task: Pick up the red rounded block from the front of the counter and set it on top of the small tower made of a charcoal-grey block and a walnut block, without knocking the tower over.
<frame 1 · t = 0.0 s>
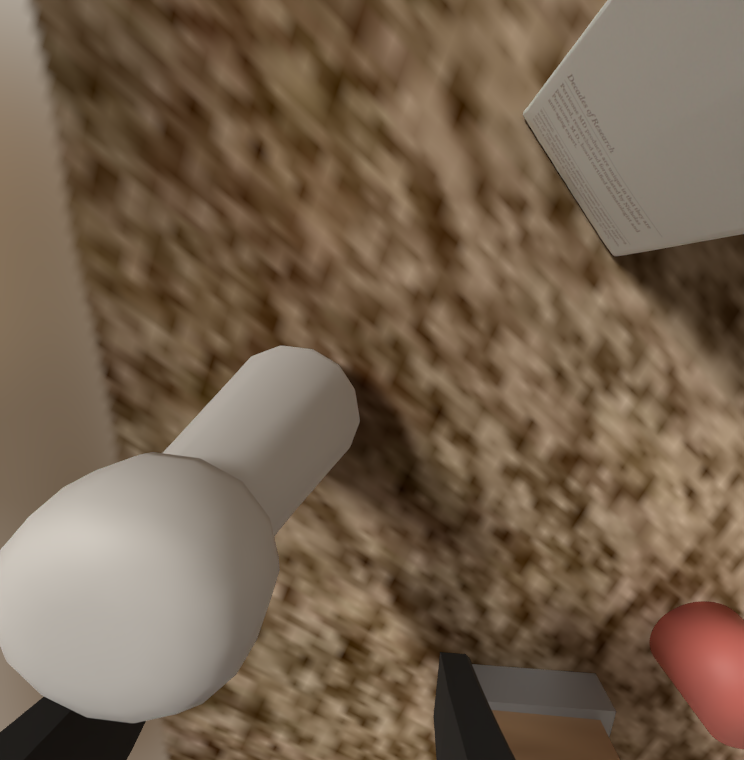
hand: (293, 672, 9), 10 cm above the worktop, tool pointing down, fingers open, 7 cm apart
red rounded block: (695, 637, 20), on the worktop
supplement box: (642, 130, 15), on the worktop
tower top block: (529, 757, 20), point 2 cm above the worktop, touching tower base block
tower base block: (514, 708, 22), on the worktop, touching tower top block
salt shaker: (306, 396, 18), on the worktop
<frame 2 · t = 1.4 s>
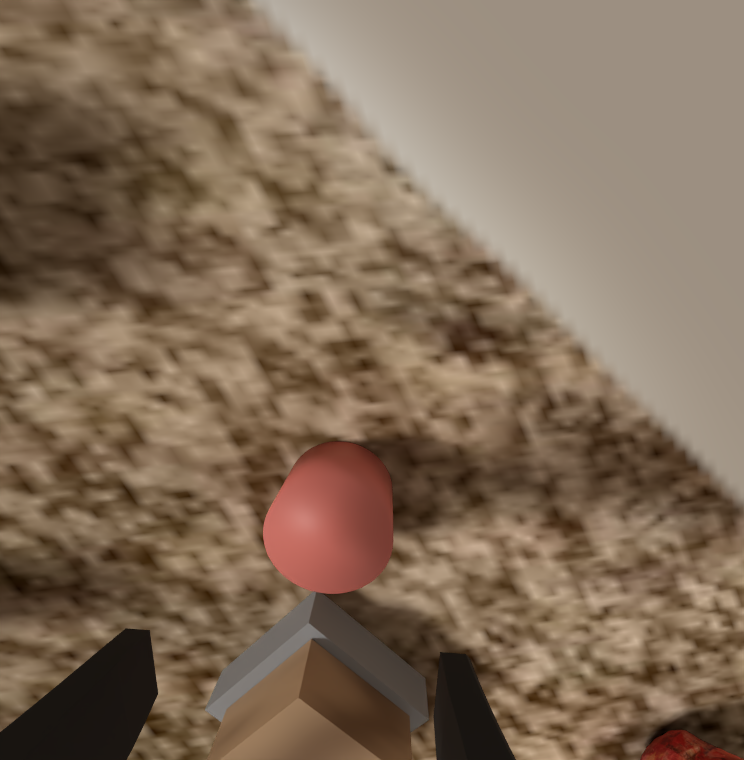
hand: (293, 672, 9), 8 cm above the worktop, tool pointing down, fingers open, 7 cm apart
red rounded block: (340, 489, 17), on the worktop
tower top block: (317, 712, 18), point 2 cm above the worktop, touching tower base block
tower base block: (324, 664, 20), on the worktop, touching tower top block
red apple: (677, 742, 20), on the worktop
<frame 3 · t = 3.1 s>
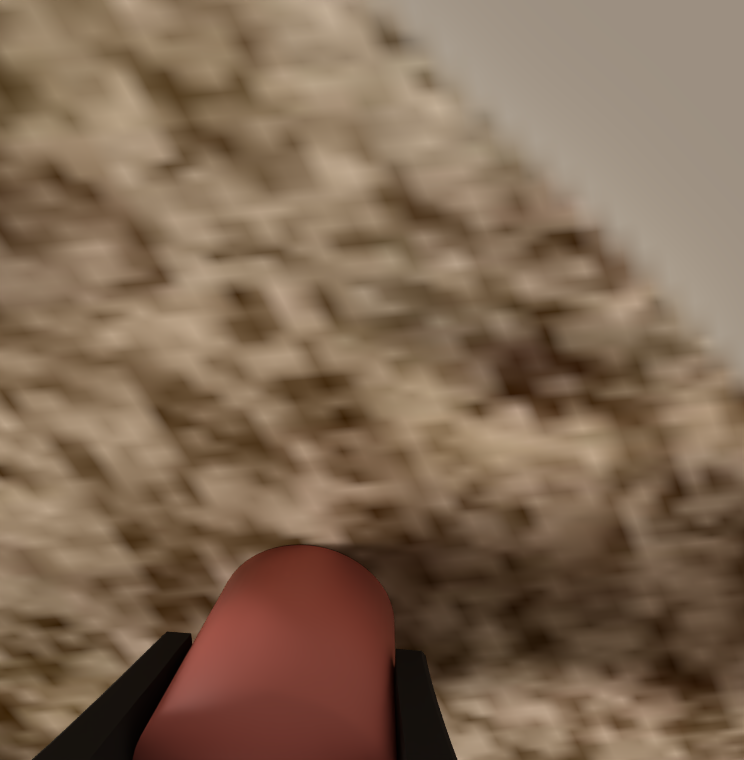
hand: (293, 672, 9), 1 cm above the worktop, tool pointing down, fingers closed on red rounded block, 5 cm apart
red rounded block: (306, 620, 10), on the worktop, touching gripper
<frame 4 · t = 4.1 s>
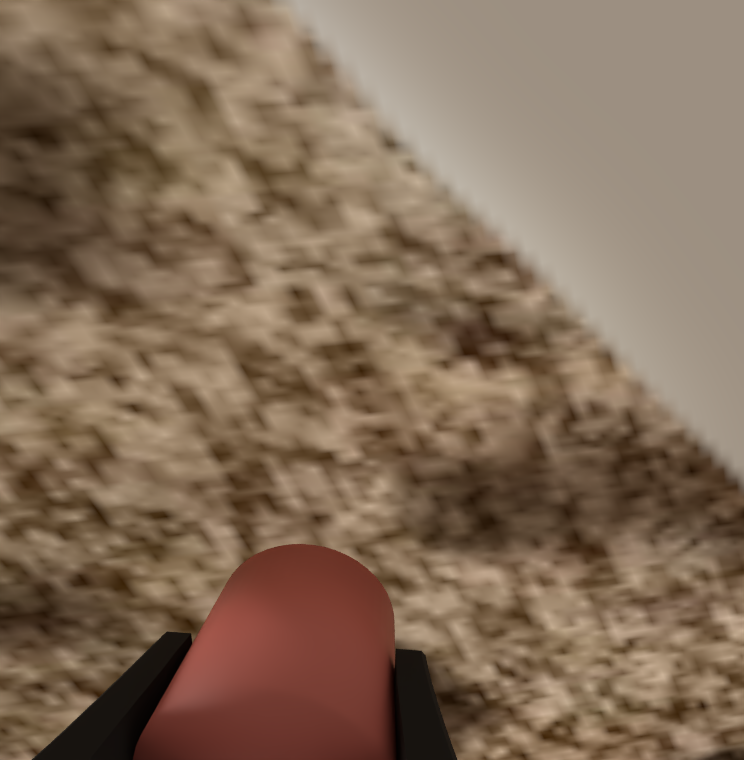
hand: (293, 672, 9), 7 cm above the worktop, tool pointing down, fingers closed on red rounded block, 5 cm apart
red rounded block: (306, 619, 10), point 5 cm above the worktop, touching gripper
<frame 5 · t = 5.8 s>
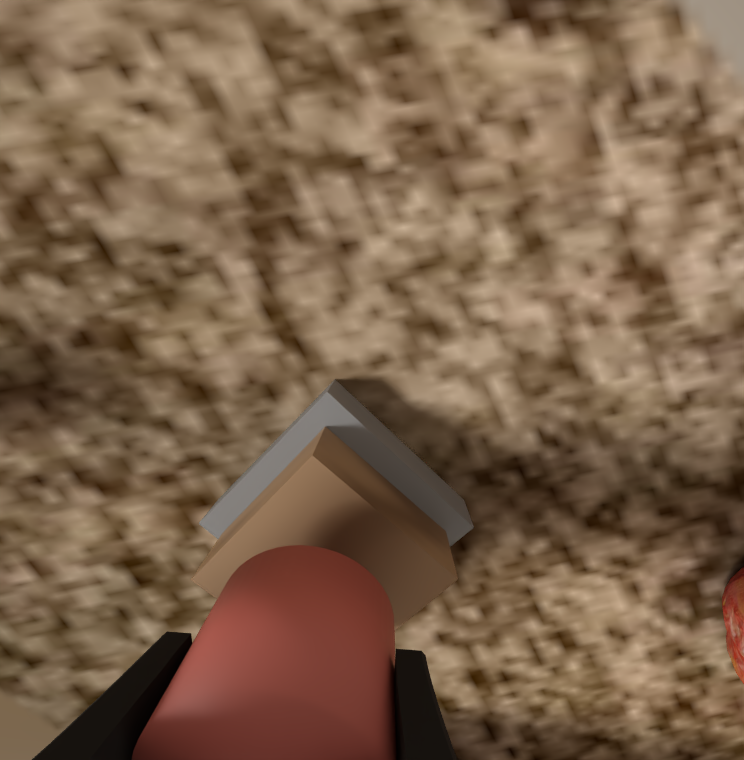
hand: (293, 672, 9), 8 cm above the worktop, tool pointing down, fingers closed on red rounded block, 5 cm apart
red rounded block: (306, 621, 10), point 6 cm above the worktop, touching gripper
tower top block: (332, 531, 15), point 2 cm above the worktop, touching tower base block
tower base block: (341, 492, 17), on the worktop, touching tower top block
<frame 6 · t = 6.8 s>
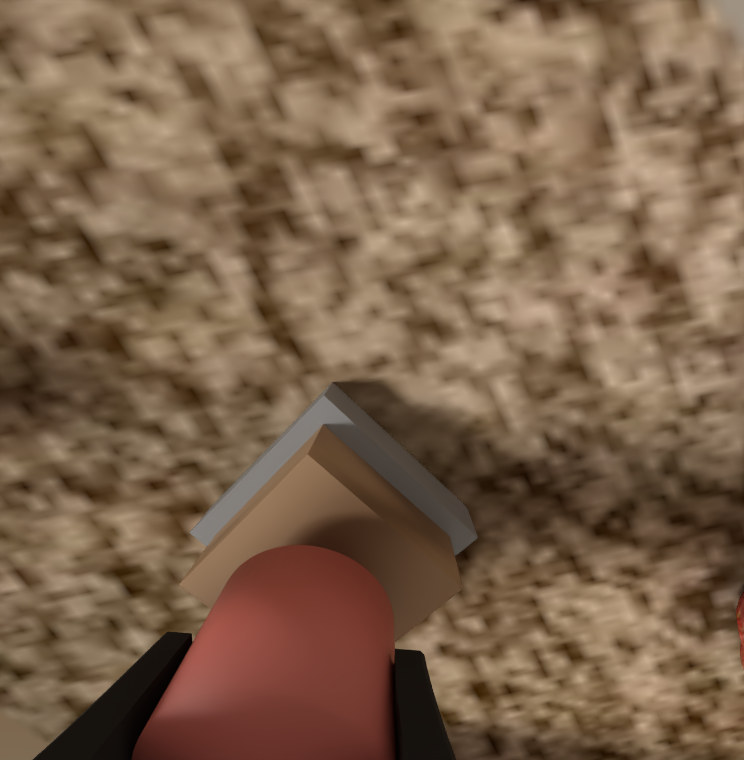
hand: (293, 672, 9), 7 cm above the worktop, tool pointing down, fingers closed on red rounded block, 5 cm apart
red rounded block: (306, 621, 10), point 6 cm above the worktop, touching gripper
tower top block: (330, 535, 14), point 2 cm above the worktop
tower base block: (339, 499, 16), on the worktop
when the fingers open (7 cm above the worktop, at t = 6.8 s): red rounded block drops 2 cm, resting on tower top block.
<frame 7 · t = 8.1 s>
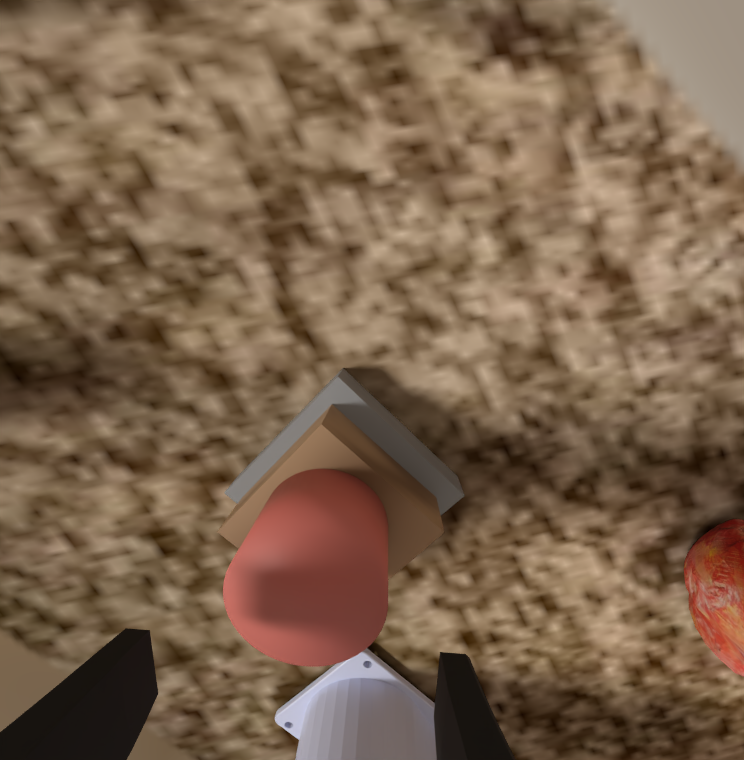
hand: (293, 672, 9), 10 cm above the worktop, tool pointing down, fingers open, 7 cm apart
red rounded block: (325, 525, 14), point 4 cm above the worktop, touching tower top block
tower top block: (337, 497, 17), point 2 cm above the worktop, touching red rounded block
tower base block: (348, 468, 19), on the worktop
red apple: (723, 548, 19), on the worktop
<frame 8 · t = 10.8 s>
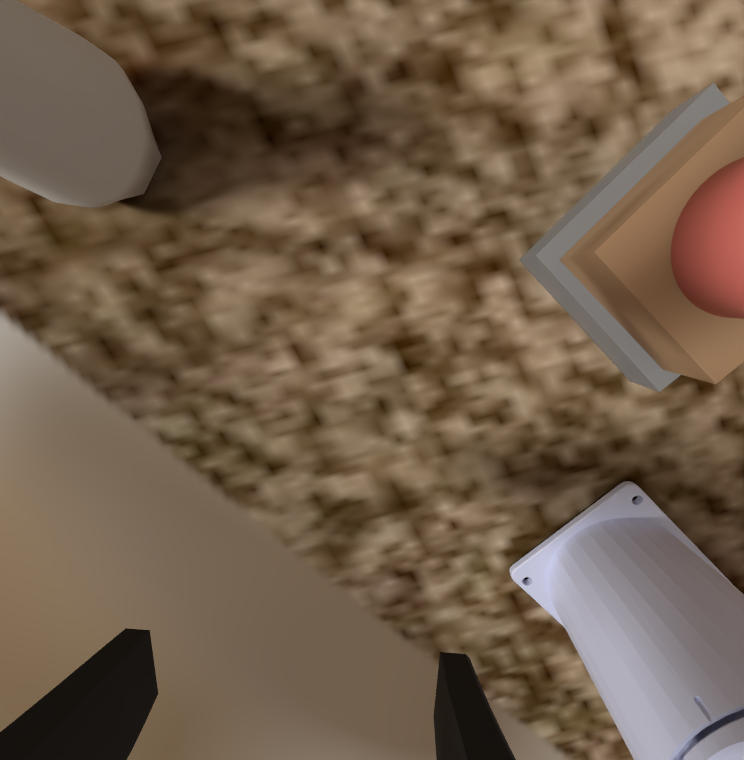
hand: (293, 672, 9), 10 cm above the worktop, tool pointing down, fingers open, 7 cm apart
tower top block: (680, 254, 14), point 2 cm above the worktop, touching red rounded block
tower base block: (640, 258, 16), on the worktop
salt shaker: (119, 151, 16), on the worktop
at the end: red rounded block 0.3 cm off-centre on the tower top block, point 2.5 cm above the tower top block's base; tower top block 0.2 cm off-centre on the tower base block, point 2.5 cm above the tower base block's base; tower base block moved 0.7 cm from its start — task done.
